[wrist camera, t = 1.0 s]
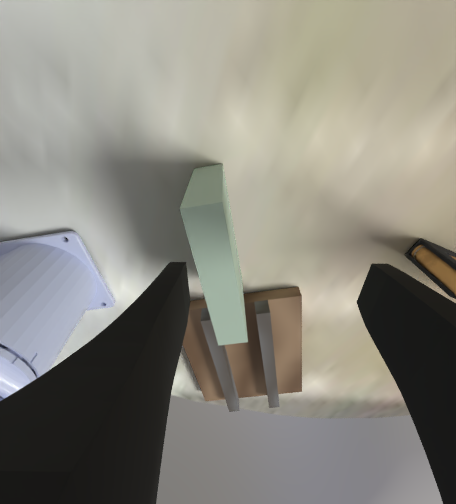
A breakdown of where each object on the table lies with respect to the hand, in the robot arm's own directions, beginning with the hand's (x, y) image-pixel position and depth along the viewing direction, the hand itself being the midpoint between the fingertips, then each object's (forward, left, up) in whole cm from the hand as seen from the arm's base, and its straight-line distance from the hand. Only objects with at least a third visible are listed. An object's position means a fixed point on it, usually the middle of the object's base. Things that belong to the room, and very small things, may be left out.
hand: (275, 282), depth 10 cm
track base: (-3, -18, -10) cm, 20 cm away
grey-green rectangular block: (-3, -3, -10) cm, 11 cm away
